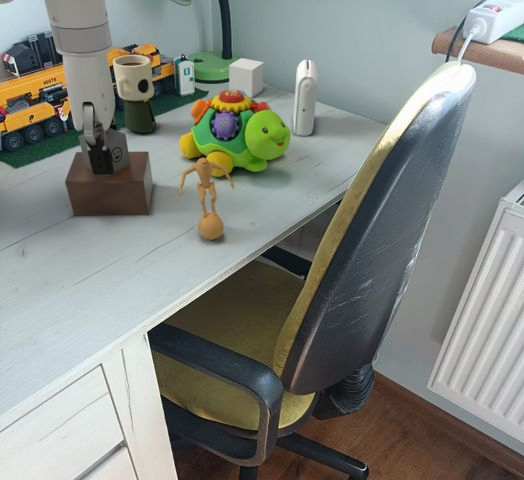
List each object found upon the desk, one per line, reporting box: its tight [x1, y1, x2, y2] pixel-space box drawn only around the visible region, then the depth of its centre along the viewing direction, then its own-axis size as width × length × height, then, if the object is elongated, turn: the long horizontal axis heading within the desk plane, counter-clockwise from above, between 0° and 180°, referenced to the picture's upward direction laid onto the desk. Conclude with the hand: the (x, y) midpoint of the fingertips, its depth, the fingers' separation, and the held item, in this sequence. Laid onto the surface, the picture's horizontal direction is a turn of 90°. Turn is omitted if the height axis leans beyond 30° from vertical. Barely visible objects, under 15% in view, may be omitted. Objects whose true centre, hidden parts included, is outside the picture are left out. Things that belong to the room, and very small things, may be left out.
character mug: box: [112, 54, 157, 133], centre depth 102 cm, size 11×7×13 cm, turn 161°
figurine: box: [178, 157, 235, 241], centre depth 77 cm, size 8×6×12 cm
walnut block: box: [64, 150, 154, 217], centre depth 85 cm, size 12×10×6 cm
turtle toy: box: [178, 89, 291, 178], centre depth 94 cm, size 17×23×12 cm
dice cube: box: [77, 126, 130, 176], centre depth 81 cm, size 5×5×5 cm
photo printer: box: [292, 59, 319, 137], centre depth 105 cm, size 10×4×12 cm, turn 177°
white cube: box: [228, 57, 265, 99], centre depth 121 cm, size 6×6×6 cm
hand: (107, 160), depth 82 cm, fingers open, 7 cm apart
